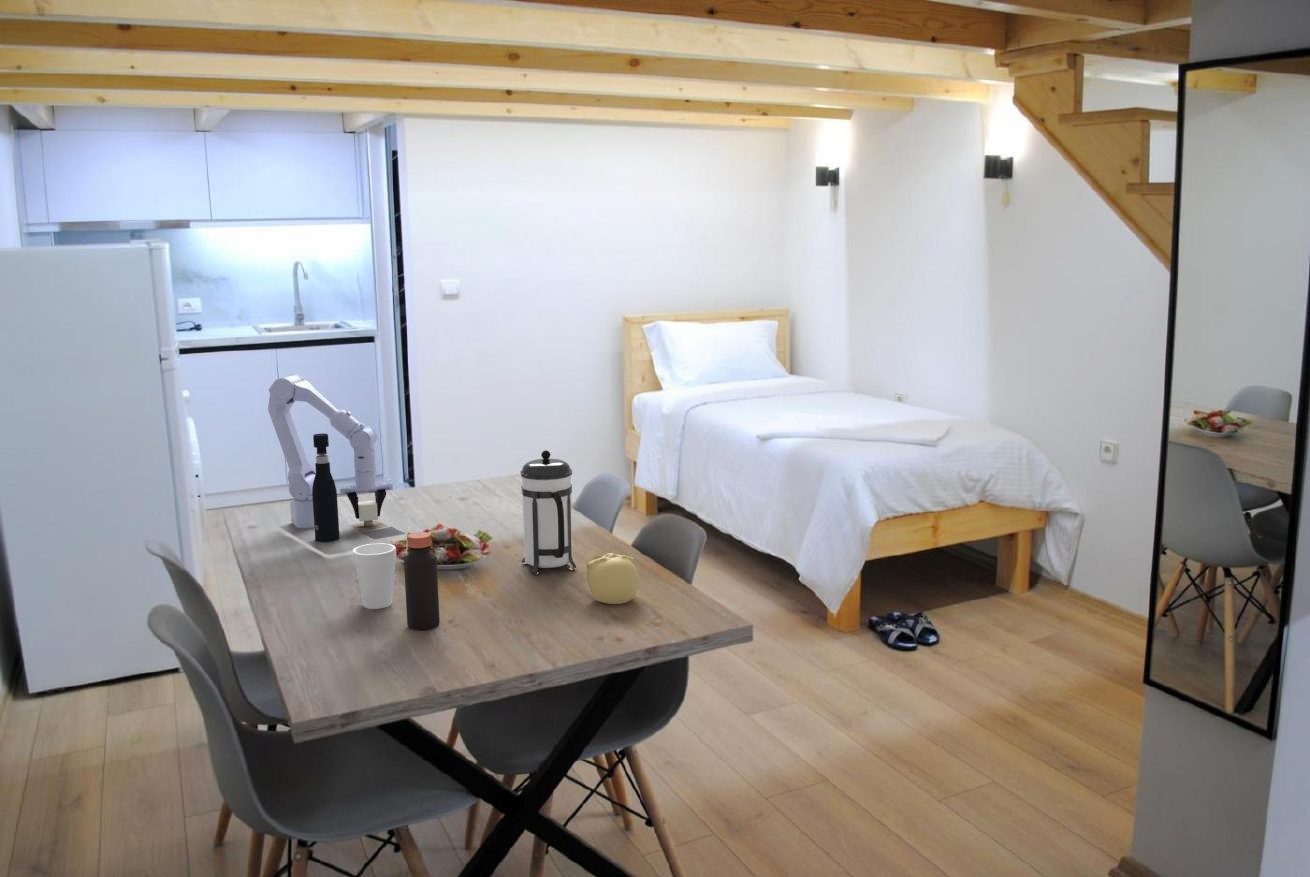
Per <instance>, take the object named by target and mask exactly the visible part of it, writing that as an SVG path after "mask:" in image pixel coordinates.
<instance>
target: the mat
mask: <svg viewBox="0 0 1310 877" xmlns="http://www.w3.org/2000/svg"><path fill="white" fill-rule="evenodd" d="M360 532H361V534H364V535H366V536H368V537H369V538H372V539H373V540H378V539H382V538H383V539H384V538H388V537H389V538H390V537H393V536H394V537H395V536H399V535H405V534H406V533H405V532H404V531H401V530H399V529H397V528H395V527H394V526H393V527H392V526H389V527H388V526H387V527H381V528H376V529H370V530H365V531H360Z"/></svg>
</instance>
